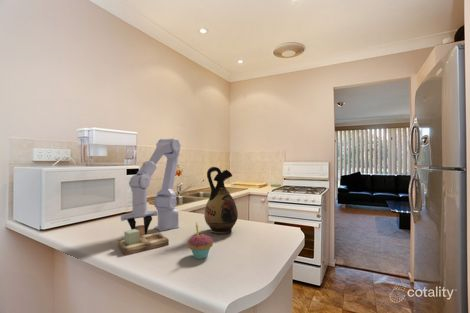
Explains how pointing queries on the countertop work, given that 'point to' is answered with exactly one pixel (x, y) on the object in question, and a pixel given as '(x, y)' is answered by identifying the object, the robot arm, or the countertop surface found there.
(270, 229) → the countertop surface
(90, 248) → the countertop surface
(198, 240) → the cupcake
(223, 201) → the ceramic jug
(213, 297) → the countertop surface
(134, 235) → the sage cube
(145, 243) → the pocket board
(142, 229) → the terracotta dowel
